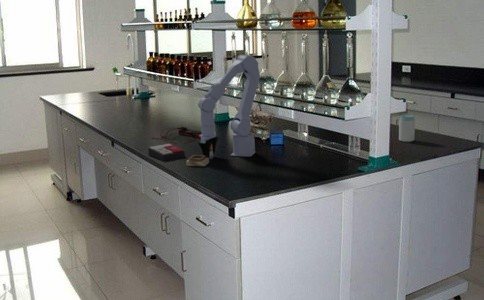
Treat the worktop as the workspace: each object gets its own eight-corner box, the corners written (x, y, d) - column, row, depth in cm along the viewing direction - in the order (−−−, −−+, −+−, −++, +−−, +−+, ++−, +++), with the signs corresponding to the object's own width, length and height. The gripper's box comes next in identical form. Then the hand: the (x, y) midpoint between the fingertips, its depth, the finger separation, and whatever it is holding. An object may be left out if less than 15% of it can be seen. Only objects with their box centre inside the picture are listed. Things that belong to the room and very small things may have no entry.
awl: (213, 157, 248) (213, 143, 247) (211, 159, 245) (210, 145, 244) (207, 157, 249) (206, 143, 247) (205, 159, 246) (204, 145, 245)
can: (408, 143, 260) (409, 117, 257) (395, 141, 266) (396, 116, 263) (417, 140, 264) (418, 115, 262) (404, 138, 270) (405, 113, 267)
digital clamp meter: (184, 123, 306) (213, 129, 288) (185, 132, 307) (213, 138, 289) (148, 130, 291) (175, 137, 273) (148, 139, 292) (176, 146, 274)
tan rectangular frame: (208, 162, 240) (208, 155, 240) (204, 166, 235) (204, 158, 234) (191, 162, 243) (190, 154, 242) (186, 165, 237) (186, 158, 237)
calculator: (162, 153, 245) (147, 146, 257) (163, 163, 247) (148, 155, 258) (184, 149, 251) (169, 142, 263) (185, 158, 253) (169, 151, 264)
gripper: (204, 121, 251) (206, 151, 255) (193, 128, 238) (195, 159, 241) (219, 121, 249) (221, 151, 253) (208, 128, 236) (210, 159, 239)
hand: (209, 155), depth 247 cm, fingers open, 7 cm apart
